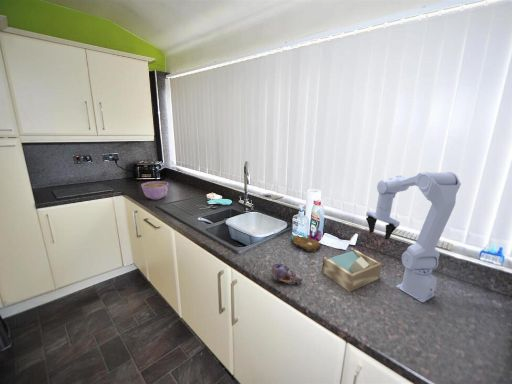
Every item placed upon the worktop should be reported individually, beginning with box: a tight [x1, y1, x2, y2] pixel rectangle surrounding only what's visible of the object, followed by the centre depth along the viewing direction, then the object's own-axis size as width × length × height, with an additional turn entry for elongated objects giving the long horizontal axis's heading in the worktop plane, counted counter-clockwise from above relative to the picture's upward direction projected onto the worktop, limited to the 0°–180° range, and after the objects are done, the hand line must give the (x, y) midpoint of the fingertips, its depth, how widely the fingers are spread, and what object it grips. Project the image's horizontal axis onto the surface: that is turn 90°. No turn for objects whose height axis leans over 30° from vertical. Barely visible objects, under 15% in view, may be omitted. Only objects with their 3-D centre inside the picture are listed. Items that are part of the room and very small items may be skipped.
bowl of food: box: [140, 180, 169, 201], centre depth 187 cm, size 20×20×12 cm
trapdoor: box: [329, 250, 358, 274], centre depth 96 cm, size 11×14×1 cm
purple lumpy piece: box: [271, 262, 303, 285], centre depth 91 cm, size 12×8×6 cm, turn 60°
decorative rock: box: [291, 235, 322, 253], centre depth 119 cm, size 11×4×15 cm
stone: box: [349, 257, 369, 273], centre depth 93 cm, size 4×4×6 cm
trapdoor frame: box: [321, 247, 383, 293], centre depth 95 cm, size 14×17×7 cm
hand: (378, 235), depth 108 cm, fingers open, 7 cm apart
